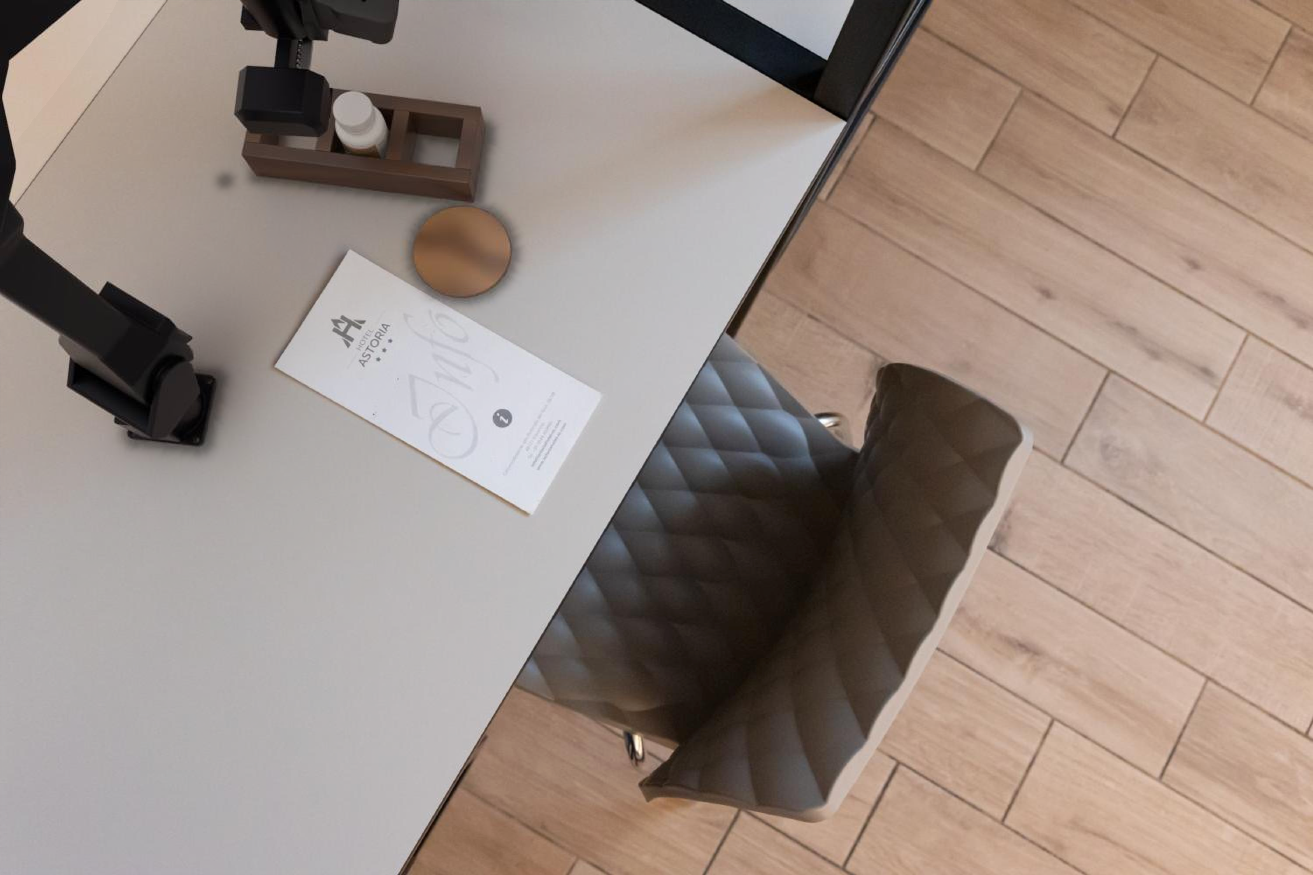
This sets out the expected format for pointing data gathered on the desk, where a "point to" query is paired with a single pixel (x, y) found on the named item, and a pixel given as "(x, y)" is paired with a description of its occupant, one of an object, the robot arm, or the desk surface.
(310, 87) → the robot arm
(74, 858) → the desk surface
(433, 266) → the coaster
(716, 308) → the desk surface
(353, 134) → the pill bottle
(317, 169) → the rack
